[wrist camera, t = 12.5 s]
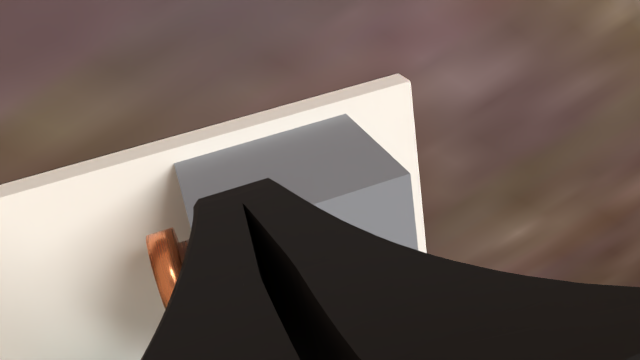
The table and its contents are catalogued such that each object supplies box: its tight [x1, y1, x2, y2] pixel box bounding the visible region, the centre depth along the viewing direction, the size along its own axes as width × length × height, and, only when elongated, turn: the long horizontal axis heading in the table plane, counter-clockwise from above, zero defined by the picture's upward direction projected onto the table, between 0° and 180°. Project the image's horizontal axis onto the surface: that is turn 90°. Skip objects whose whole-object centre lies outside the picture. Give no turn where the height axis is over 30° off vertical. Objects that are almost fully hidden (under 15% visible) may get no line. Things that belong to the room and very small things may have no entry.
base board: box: [0, 74, 427, 360], centre depth 22 cm, size 19×13×1 cm
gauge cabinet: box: [174, 114, 418, 250], centre depth 19 cm, size 6×5×5 cm
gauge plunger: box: [146, 227, 189, 310], centre depth 19 cm, size 6×3×3 cm, turn 100°
